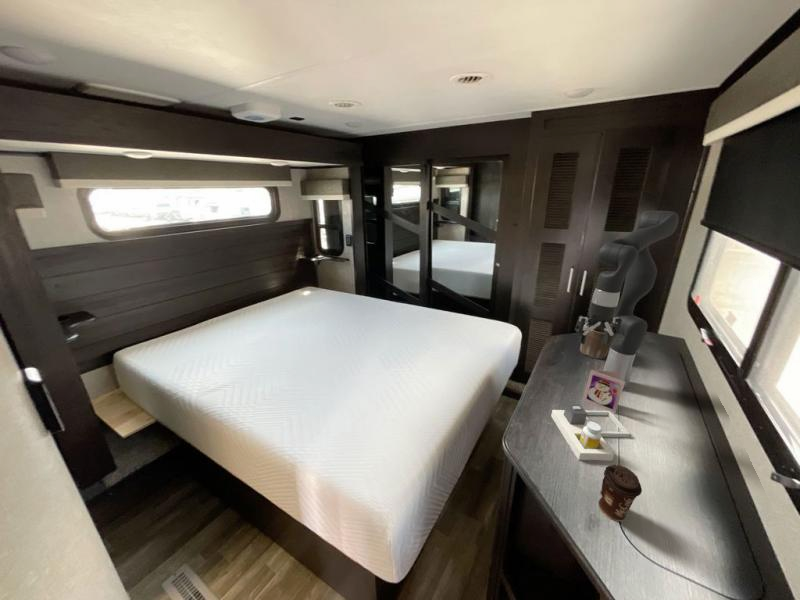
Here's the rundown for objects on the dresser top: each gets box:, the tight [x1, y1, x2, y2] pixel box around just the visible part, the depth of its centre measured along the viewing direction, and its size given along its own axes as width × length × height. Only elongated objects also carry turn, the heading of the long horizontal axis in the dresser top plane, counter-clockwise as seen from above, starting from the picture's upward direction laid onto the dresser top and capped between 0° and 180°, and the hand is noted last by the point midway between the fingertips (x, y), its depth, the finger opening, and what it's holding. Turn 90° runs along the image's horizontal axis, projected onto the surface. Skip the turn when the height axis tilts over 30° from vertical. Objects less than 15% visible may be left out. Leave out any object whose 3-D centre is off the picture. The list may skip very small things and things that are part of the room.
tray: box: [584, 409, 631, 438], centre depth 113 cm, size 12×12×2 cm
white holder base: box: [551, 403, 616, 462], centre depth 107 cm, size 11×20×9 cm, turn 179°
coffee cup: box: [598, 464, 643, 522], centre depth 82 cm, size 9×8×13 cm
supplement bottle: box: [579, 421, 602, 449], centre depth 102 cm, size 5×5×10 cm
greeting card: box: [582, 369, 625, 415], centre depth 122 cm, size 11×7×15 cm, turn 47°
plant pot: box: [579, 321, 618, 360], centre depth 159 cm, size 16×16×16 cm
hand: (593, 343), depth 110 cm, fingers open, 8 cm apart
